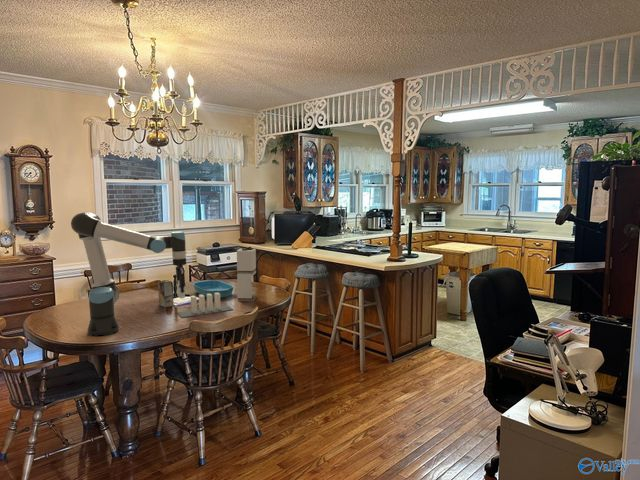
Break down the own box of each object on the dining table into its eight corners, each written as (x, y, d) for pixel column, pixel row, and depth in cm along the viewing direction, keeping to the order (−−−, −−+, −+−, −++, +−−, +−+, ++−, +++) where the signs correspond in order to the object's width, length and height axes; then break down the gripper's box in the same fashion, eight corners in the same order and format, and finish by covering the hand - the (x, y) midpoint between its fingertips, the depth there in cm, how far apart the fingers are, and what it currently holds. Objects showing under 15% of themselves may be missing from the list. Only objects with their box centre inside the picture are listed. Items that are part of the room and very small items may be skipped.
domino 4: (209, 311, 265) (208, 295, 264) (207, 309, 270) (206, 293, 268) (212, 310, 266) (212, 295, 265) (210, 308, 271) (210, 293, 270)
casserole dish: (238, 296, 304) (238, 286, 303) (209, 301, 290) (209, 291, 290) (216, 287, 333) (216, 278, 332) (189, 291, 319) (188, 282, 318)
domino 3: (201, 312, 263) (200, 296, 262) (199, 310, 267) (198, 294, 266) (205, 311, 264) (204, 296, 263) (202, 309, 268) (202, 294, 267)
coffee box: (174, 305, 280) (173, 281, 278) (165, 307, 276) (164, 283, 274) (167, 303, 287) (166, 279, 285) (158, 304, 282) (157, 281, 280)
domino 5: (217, 309, 268) (216, 294, 267) (214, 308, 272) (214, 292, 271) (220, 309, 269) (220, 294, 268) (218, 307, 273) (217, 292, 272)
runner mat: (181, 318, 253) (181, 317, 253) (177, 313, 263) (176, 312, 263) (233, 310, 270) (233, 309, 270) (226, 305, 280) (226, 304, 280)
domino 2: (193, 313, 260) (192, 297, 259) (191, 311, 264) (190, 295, 263) (196, 313, 261) (196, 297, 260) (194, 311, 266) (194, 295, 264)
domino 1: (180, 298, 249) (179, 281, 248) (178, 296, 253) (177, 280, 252) (183, 297, 250) (183, 281, 249) (182, 296, 254) (181, 279, 253)
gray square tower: (253, 301, 291) (252, 250, 287) (237, 301, 291) (236, 250, 287) (256, 297, 302) (255, 248, 298) (241, 296, 303) (240, 248, 298)
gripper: (189, 259, 243) (191, 299, 246) (182, 255, 258) (184, 292, 261) (175, 260, 239) (177, 301, 242) (169, 256, 255) (172, 294, 258)
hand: (181, 296), depth 252 cm, fingers closed on domino 1, 5 cm apart
